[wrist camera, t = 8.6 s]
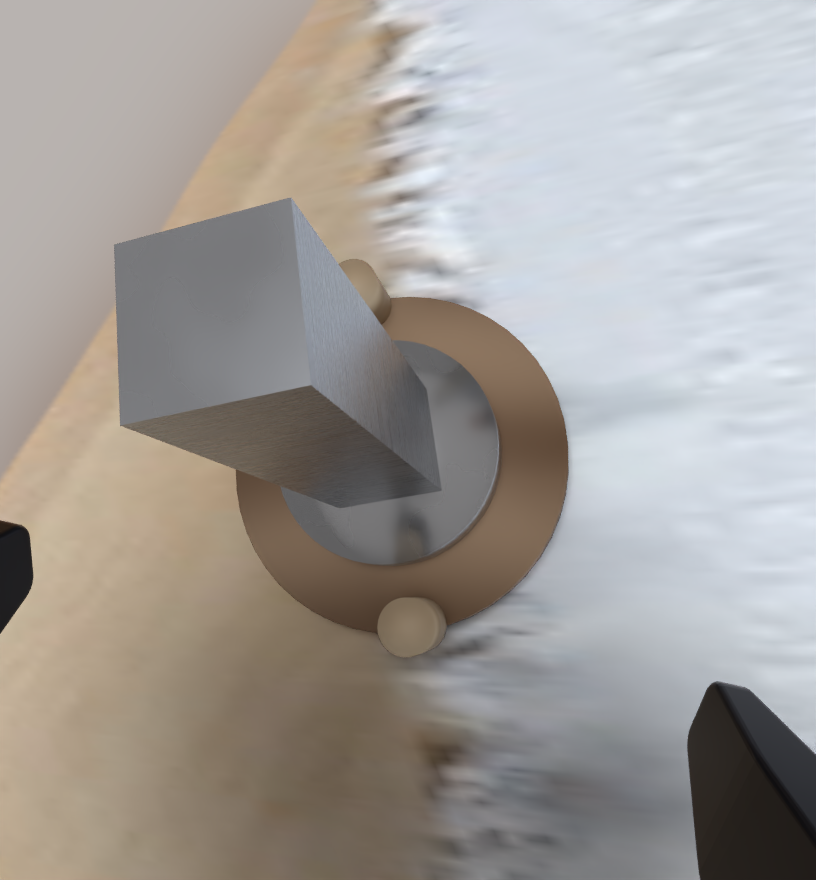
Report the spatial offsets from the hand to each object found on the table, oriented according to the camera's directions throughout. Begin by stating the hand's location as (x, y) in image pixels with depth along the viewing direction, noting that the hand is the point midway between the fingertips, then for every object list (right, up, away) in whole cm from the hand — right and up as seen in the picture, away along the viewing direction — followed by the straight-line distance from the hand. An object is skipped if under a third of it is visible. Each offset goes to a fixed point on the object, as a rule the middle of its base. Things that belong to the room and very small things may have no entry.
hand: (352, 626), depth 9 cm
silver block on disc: (0, +2, +13) cm, 14 cm away
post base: (0, +2, +15) cm, 15 cm away
